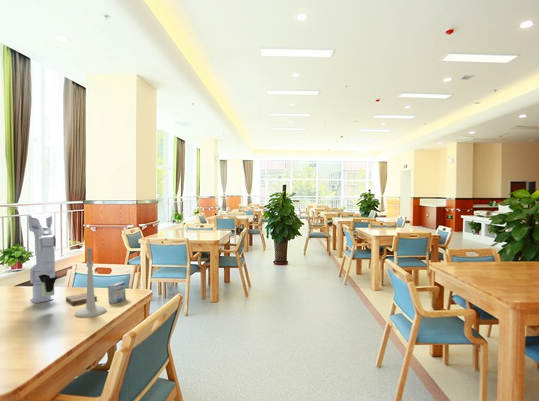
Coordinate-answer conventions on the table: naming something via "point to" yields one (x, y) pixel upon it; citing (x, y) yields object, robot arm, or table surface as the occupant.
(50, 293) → the sage block
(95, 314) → the candlestick
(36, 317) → the table surface
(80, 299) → the walnut block
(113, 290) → the medicine box
